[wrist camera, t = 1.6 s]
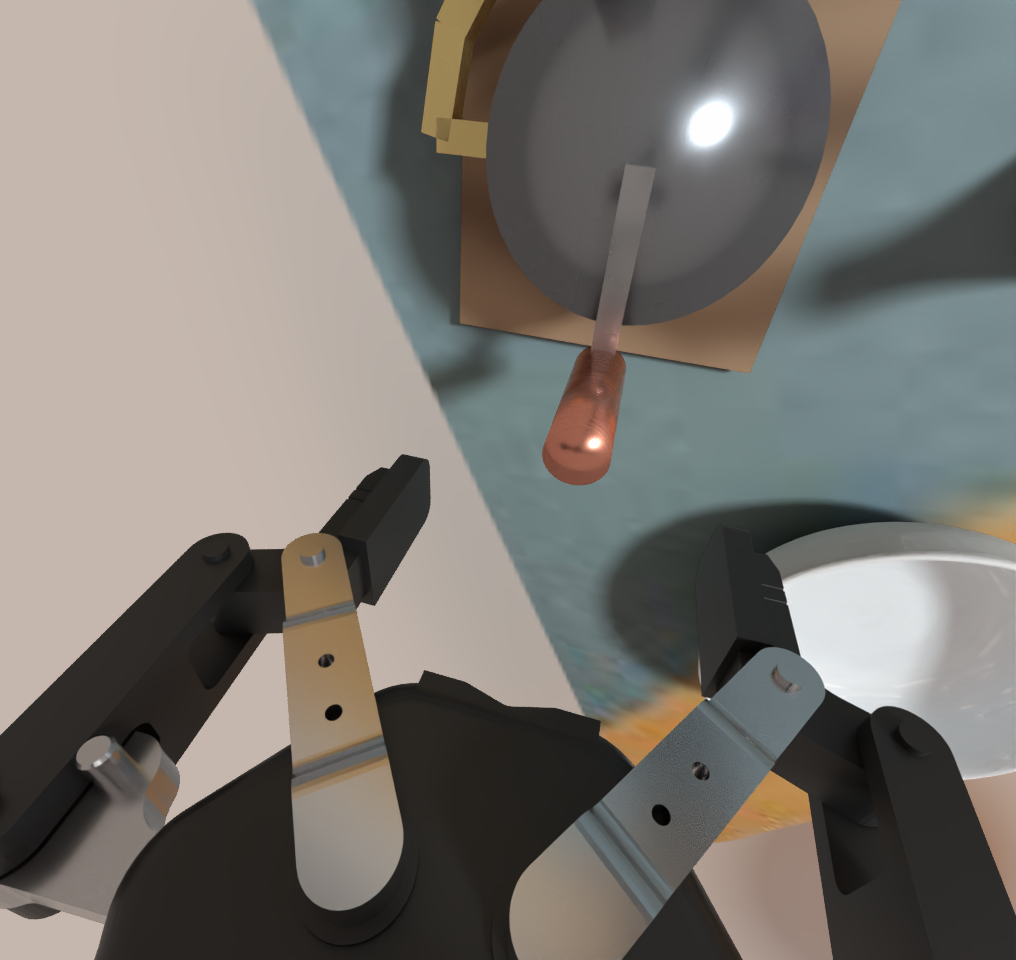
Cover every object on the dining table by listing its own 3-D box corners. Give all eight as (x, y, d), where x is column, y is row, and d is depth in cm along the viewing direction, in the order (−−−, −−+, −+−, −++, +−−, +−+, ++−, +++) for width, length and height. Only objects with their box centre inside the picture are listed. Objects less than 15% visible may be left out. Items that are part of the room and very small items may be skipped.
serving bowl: (1161, 592, 28) (1276, 704, 23) (848, 720, 41) (875, 810, 36) (865, 411, 27) (914, 487, 21) (637, 604, 40) (632, 681, 34)
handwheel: (447, -197, 17) (128, -637, 7) (909, -197, 15) (1417, -849, 5) (447, 315, 28) (323, 430, 18) (713, 361, 26) (740, 521, 16)
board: (480, -369, 16) (470, -393, 15) (1053, -402, 13) (1077, -433, 12) (465, 317, 29) (459, 323, 28) (747, 365, 27) (749, 373, 26)
